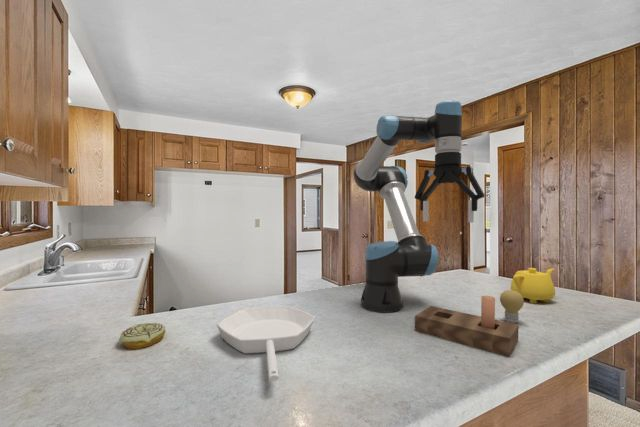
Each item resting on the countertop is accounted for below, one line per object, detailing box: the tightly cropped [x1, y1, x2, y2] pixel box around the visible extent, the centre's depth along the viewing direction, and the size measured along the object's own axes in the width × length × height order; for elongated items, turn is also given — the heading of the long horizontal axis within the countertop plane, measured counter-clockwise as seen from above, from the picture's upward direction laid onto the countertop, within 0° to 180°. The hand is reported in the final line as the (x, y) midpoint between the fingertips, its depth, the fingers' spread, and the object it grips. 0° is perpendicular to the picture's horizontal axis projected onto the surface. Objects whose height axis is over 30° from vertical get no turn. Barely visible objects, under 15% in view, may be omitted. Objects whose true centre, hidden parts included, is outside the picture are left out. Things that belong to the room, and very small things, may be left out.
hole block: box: [414, 305, 519, 358], centre depth 86 cm, size 24×12×4 cm, turn 49°
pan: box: [216, 305, 316, 382], centre depth 79 cm, size 28×41×4 cm
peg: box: [480, 295, 496, 330], centre depth 82 cm, size 3×3×12 cm
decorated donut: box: [118, 322, 166, 350], centre depth 83 cm, size 10×11×4 cm
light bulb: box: [499, 289, 525, 324], centre depth 97 cm, size 6×6×10 cm
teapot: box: [510, 267, 556, 304], centre depth 121 cm, size 13×20×12 cm
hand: (447, 221), depth 95 cm, fingers open, 13 cm apart
